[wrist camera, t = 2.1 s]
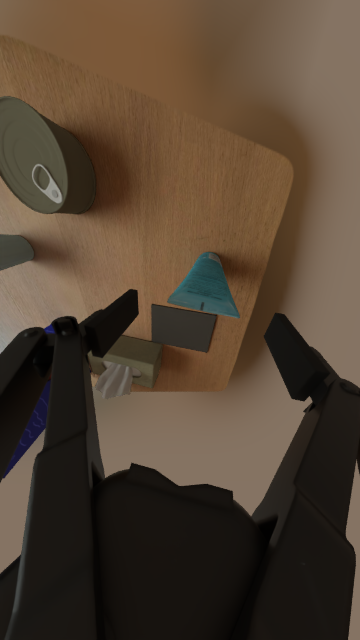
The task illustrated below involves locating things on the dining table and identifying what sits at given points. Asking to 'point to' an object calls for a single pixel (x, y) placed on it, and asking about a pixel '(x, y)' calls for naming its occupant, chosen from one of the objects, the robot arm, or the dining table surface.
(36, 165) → the can
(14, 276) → the dining table surface
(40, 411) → the cereal box
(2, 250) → the cup
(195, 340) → the thin charcoal rectangular slate
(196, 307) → the tube
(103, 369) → the tissue box
